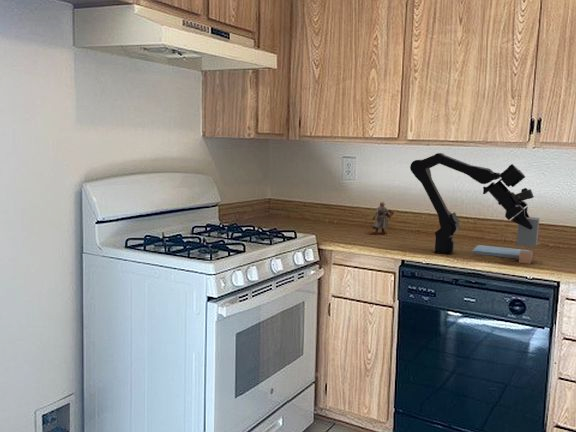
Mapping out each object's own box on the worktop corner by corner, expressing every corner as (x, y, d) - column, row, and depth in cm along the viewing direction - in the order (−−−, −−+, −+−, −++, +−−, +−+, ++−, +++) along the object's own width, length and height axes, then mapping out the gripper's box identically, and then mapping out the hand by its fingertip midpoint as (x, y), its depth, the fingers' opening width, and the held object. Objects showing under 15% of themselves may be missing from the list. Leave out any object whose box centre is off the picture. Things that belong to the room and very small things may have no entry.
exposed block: (518, 262, 206) (519, 252, 205) (520, 260, 209) (521, 250, 209) (530, 264, 204) (531, 253, 203) (531, 262, 207) (532, 251, 207)
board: (472, 253, 220) (472, 250, 220) (478, 247, 232) (478, 244, 232) (526, 259, 211) (526, 256, 211) (530, 253, 223) (530, 250, 223)
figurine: (391, 232, 267) (392, 200, 265) (399, 234, 261) (401, 202, 258) (365, 233, 262) (366, 201, 260) (373, 235, 255) (374, 203, 253)
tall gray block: (516, 245, 204) (518, 218, 203) (518, 242, 210) (520, 216, 209) (535, 247, 201) (538, 219, 200) (537, 244, 207) (539, 217, 206)
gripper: (517, 182, 196) (549, 216, 192) (523, 179, 212) (552, 210, 209) (492, 203, 201) (522, 236, 197) (499, 198, 217) (528, 229, 214)
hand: (532, 227), depth 204 cm, fingers closed on tall gray block, 6 cm apart
